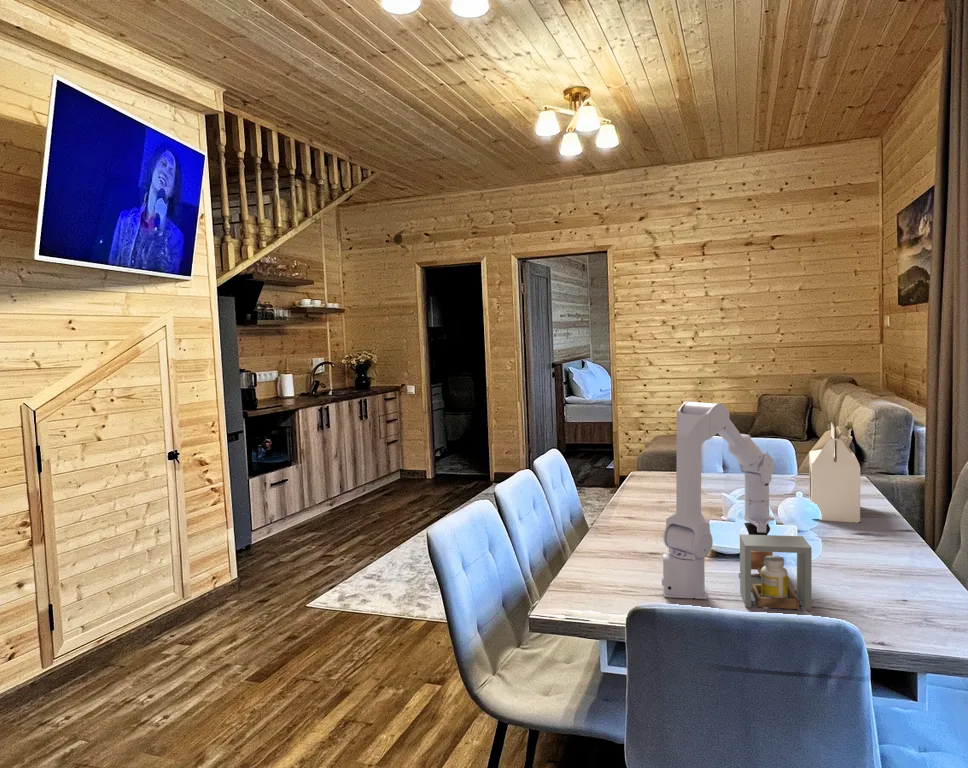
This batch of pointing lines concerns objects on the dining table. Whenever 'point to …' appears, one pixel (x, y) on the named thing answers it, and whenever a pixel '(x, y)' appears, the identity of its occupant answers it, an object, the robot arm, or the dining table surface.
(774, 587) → the supplement bottle
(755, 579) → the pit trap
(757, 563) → the sled
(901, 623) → the dining table surface
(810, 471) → the gable box
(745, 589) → the tunnel
